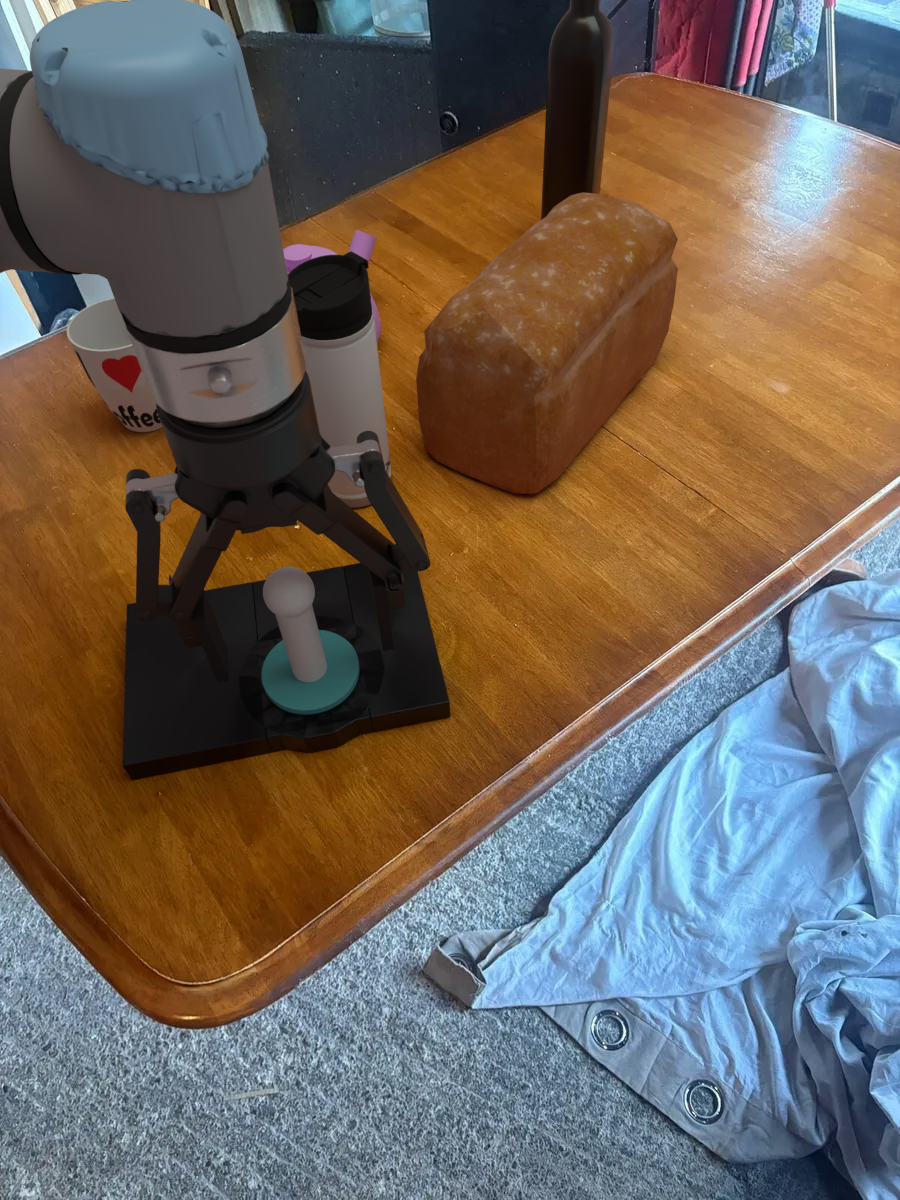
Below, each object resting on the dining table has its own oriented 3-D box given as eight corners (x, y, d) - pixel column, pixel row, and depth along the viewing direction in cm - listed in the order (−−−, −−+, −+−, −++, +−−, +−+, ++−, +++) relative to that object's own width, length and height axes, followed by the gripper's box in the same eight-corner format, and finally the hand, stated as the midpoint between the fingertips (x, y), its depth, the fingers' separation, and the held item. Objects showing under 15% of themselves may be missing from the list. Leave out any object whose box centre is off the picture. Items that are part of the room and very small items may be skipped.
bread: (407, 453, 80) (392, 297, 67) (551, 308, 93) (560, 156, 81) (542, 511, 74) (552, 353, 62) (674, 348, 88) (703, 192, 76)
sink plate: (131, 788, 60) (121, 774, 58) (134, 620, 69) (126, 604, 67) (452, 724, 62) (451, 709, 60) (414, 569, 71) (413, 553, 69)
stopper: (272, 738, 62) (231, 629, 52) (265, 660, 66) (225, 545, 56) (369, 719, 62) (346, 607, 53) (355, 643, 67) (332, 526, 57)
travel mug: (410, 480, 77) (390, 270, 62) (352, 520, 75) (316, 310, 59) (363, 447, 80) (333, 238, 65) (306, 484, 77) (260, 275, 62)
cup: (89, 434, 83) (47, 343, 75) (133, 381, 88) (98, 290, 80) (166, 449, 81) (132, 357, 73) (207, 395, 86) (179, 303, 78)
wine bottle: (537, 248, 100) (551, -76, 77) (549, 222, 104) (567, -95, 80) (586, 255, 99) (616, -72, 76) (597, 229, 102) (629, -92, 79)
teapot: (430, 314, 93) (424, 216, 85) (311, 422, 83) (291, 323, 74) (326, 278, 98) (311, 182, 90) (201, 376, 88) (171, 277, 79)
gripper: (-24, 474, 40) (132, 729, 57) (479, 393, 42) (482, 662, 59) (-5, 373, 44) (134, 637, 61) (446, 305, 47) (458, 578, 64)
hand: (304, 649), depth 60 cm, fingers open, 10 cm apart
